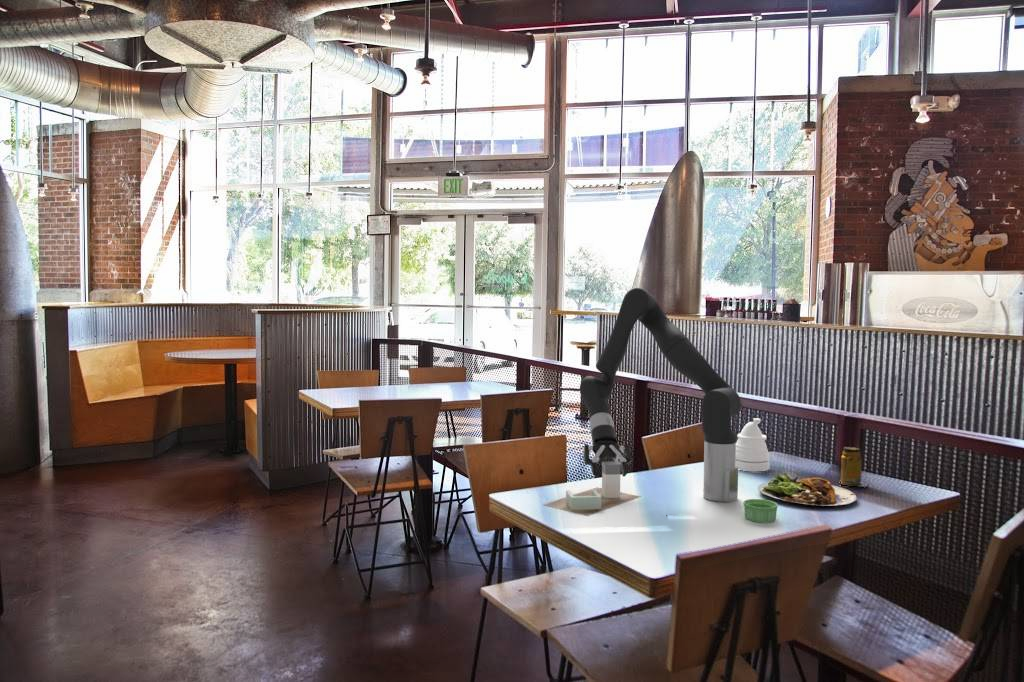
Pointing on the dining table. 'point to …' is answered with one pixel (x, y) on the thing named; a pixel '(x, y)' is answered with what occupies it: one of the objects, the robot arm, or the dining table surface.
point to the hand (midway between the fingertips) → (610, 475)
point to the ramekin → (760, 510)
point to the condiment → (851, 466)
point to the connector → (611, 479)
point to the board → (605, 502)
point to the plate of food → (806, 491)
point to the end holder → (583, 501)
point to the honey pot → (752, 448)
